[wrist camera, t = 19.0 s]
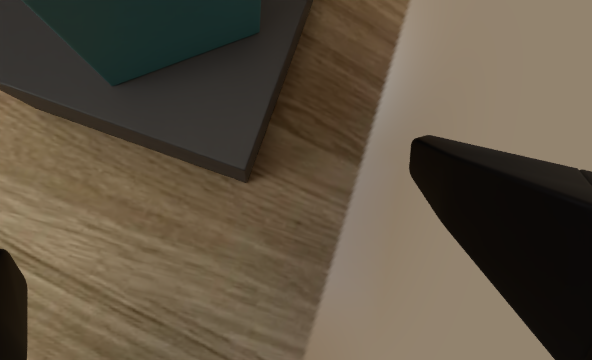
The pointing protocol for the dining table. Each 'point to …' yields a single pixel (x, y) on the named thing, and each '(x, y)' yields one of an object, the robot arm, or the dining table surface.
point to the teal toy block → (146, 30)
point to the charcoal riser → (161, 88)
